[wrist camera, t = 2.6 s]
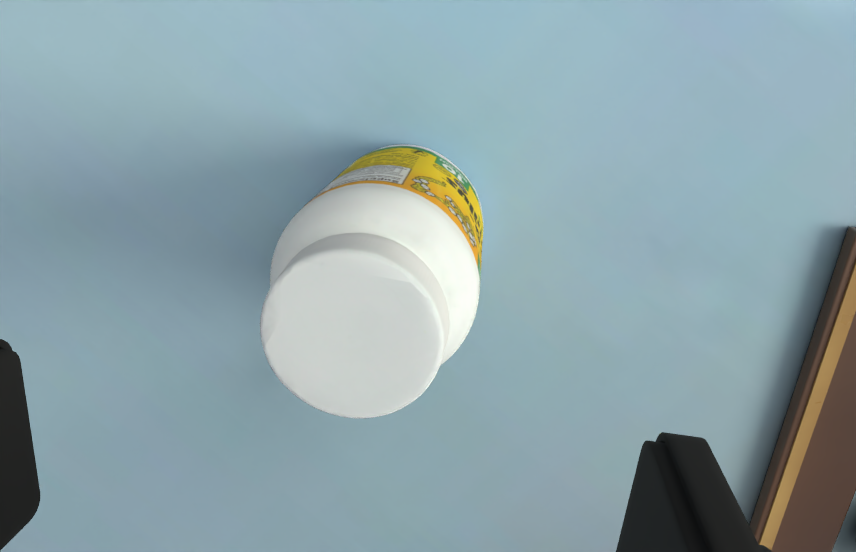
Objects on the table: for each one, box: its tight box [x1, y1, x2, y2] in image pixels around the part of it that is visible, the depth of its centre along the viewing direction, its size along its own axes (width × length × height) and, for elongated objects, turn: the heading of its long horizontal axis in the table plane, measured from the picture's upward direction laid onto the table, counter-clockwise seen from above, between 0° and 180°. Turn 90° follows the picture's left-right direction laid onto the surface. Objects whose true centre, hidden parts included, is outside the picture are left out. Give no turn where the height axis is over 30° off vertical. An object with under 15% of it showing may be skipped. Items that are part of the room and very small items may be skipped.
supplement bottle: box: [260, 144, 483, 418], centre depth 18 cm, size 5×5×10 cm
